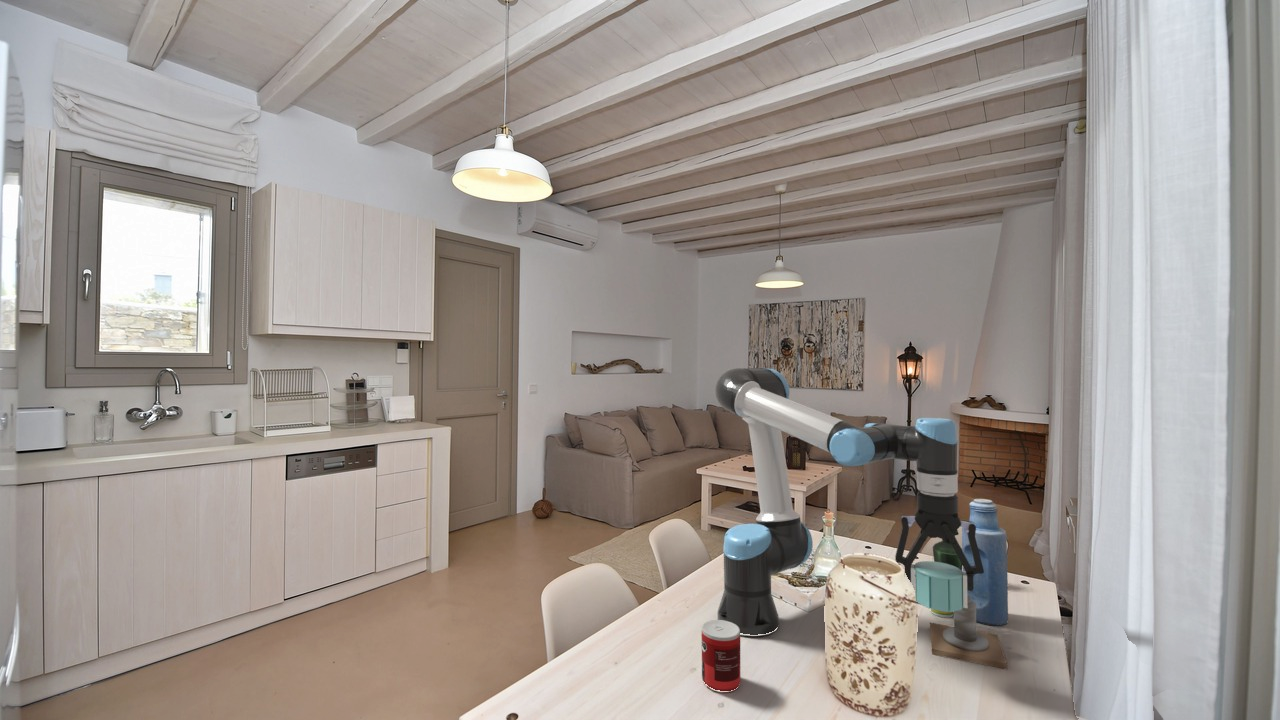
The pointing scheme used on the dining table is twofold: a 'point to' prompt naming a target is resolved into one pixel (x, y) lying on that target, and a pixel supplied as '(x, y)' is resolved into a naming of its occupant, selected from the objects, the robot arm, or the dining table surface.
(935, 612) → the supplement bottle
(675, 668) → the dining table surface
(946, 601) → the cap
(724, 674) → the canned food
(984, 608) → the bottle
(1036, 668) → the dining table surface
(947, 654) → the stud post
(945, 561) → the potion bottle
